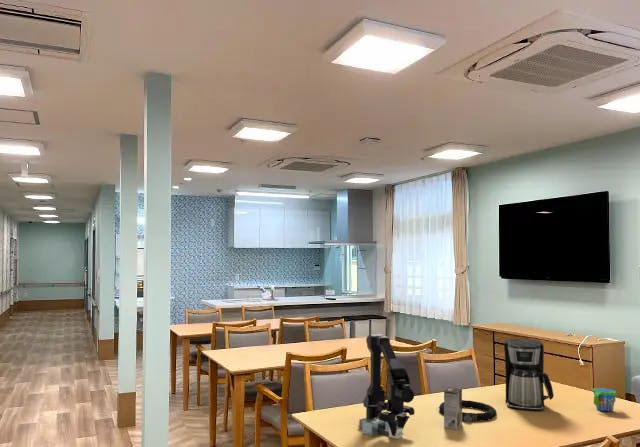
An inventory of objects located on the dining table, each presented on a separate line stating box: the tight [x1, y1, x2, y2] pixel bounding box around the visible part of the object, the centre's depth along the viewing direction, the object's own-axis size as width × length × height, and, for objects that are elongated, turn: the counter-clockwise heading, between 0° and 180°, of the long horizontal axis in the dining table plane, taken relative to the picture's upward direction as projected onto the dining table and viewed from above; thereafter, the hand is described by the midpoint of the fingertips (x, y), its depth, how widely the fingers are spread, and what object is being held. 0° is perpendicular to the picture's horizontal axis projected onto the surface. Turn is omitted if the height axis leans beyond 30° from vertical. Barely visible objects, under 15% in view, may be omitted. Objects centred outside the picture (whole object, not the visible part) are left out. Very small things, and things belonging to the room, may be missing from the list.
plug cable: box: [358, 417, 404, 440], centre depth 232 cm, size 22×4×4 cm, turn 47°
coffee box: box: [443, 386, 463, 430], centre depth 244 cm, size 9×6×16 cm
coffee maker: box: [503, 338, 554, 411], centre depth 288 cm, size 23×32×34 cm
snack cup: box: [592, 387, 617, 413], centre depth 276 cm, size 16×10×10 cm
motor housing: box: [361, 416, 390, 437], centre depth 233 cm, size 5×14×5 cm, turn 137°
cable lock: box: [438, 399, 498, 423], centre depth 264 cm, size 28×4×30 cm
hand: (396, 434), depth 226 cm, fingers closed on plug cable, 4 cm apart
